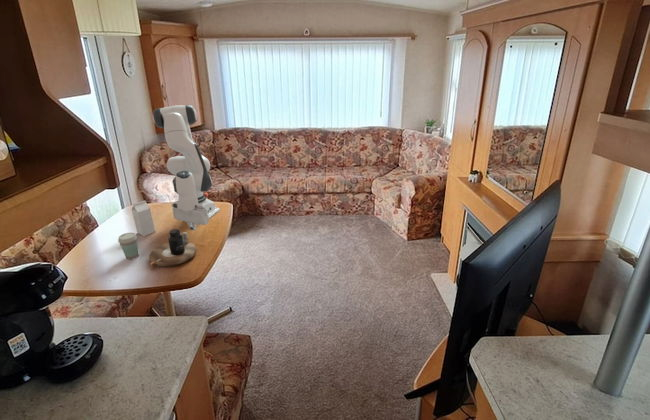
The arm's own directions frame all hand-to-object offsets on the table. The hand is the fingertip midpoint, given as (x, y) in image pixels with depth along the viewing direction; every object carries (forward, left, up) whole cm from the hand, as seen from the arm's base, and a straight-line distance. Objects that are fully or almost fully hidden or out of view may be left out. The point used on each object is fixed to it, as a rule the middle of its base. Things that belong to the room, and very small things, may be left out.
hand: (193, 229), depth 184 cm
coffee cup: (+17, -27, -13) cm, 34 cm away
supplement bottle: (+9, -4, -10) cm, 14 cm away
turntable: (+9, -7, -11) cm, 16 cm away
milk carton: (-6, -43, -13) cm, 45 cm away
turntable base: (+11, -7, -13) cm, 18 cm away
